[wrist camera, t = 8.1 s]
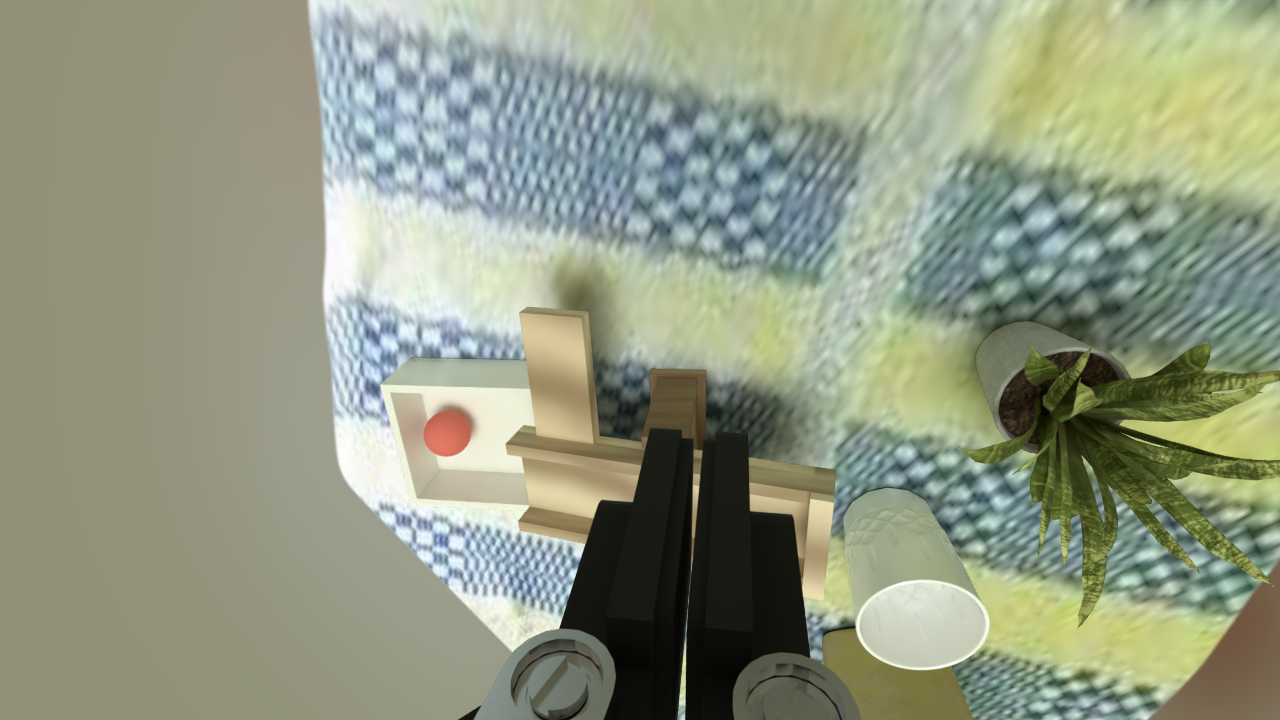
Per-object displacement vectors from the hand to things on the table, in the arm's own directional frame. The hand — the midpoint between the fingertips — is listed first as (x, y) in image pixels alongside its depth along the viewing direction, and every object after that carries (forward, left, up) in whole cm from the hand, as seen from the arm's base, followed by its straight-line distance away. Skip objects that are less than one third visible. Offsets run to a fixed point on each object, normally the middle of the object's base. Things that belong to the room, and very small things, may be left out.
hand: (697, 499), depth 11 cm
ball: (+17, -21, -28) cm, 40 cm away
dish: (+17, -18, -31) cm, 40 cm away
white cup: (+25, +13, -31) cm, 42 cm away
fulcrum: (+17, -3, -31) cm, 36 cm away
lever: (+13, -3, -24) cm, 28 cm away
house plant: (+12, +20, -31) cm, 39 cm away
